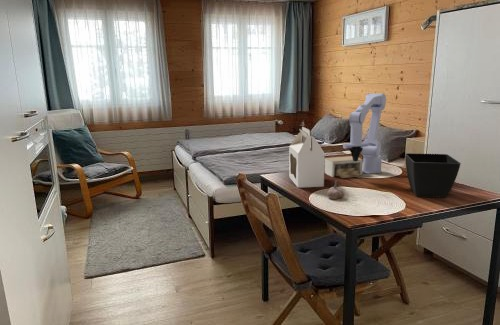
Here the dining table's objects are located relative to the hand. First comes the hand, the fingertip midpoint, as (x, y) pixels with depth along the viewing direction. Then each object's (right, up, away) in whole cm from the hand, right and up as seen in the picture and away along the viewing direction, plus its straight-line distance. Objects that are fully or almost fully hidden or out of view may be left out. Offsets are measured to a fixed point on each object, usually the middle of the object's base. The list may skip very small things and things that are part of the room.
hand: (355, 161), depth 198 cm
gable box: (-26, -11, 0) cm, 28 cm away
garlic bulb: (-17, -17, -28) cm, 37 cm away
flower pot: (+27, -15, -25) cm, 39 cm away
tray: (-2, -8, +12) cm, 14 cm away
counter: (-3, -7, +14) cm, 16 cm away
